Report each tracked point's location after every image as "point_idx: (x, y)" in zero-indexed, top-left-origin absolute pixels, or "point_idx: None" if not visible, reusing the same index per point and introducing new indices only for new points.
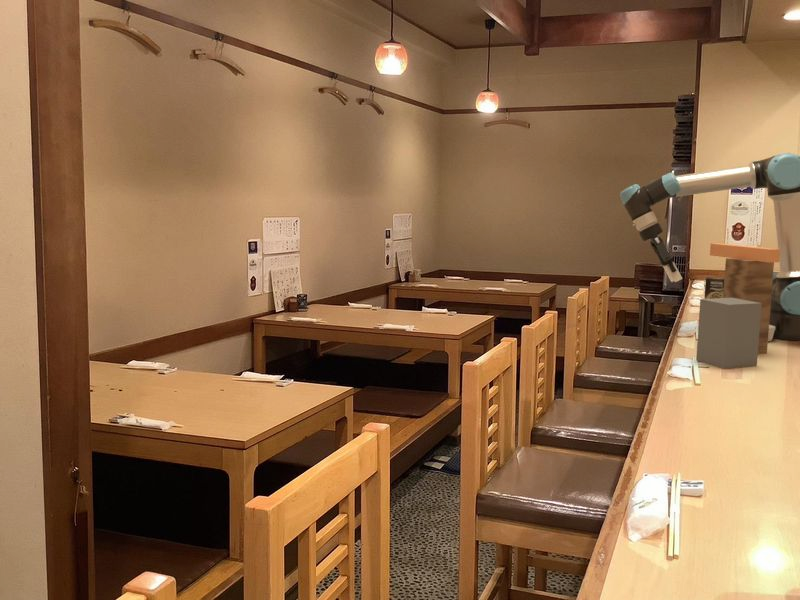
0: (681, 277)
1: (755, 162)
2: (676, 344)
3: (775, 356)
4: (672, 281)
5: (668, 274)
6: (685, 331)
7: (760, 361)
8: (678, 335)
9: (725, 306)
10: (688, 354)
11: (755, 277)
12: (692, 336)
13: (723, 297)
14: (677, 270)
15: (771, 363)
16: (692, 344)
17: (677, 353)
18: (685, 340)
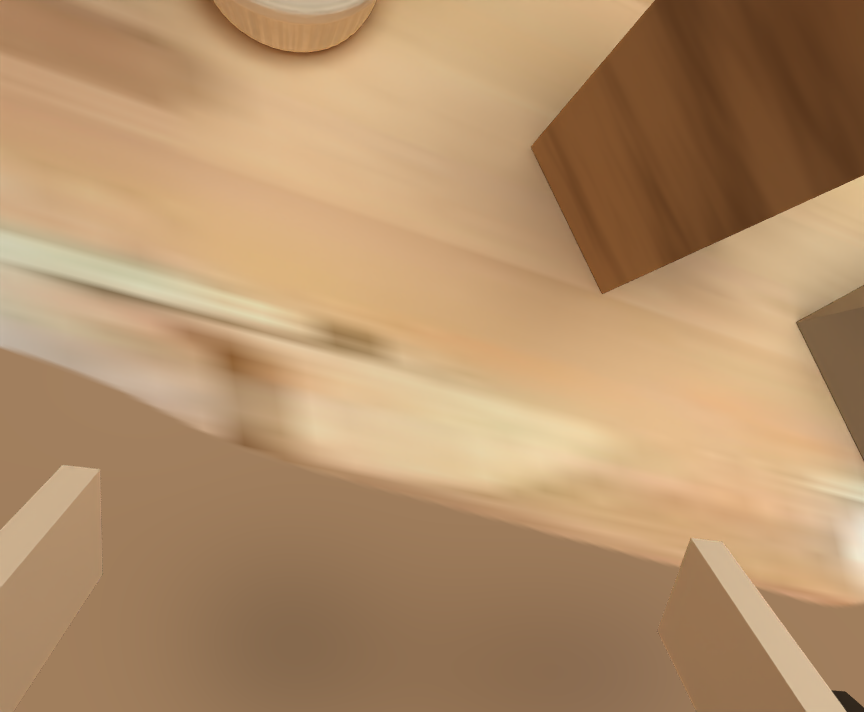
0: (731, 563)
1: None
2: (522, 507)
3: None
4: (100, 563)
5: (27, 673)
6: (23, 338)
7: (832, 200)
8: (206, 428)
9: None
10: (766, 496)
11: None
12: (231, 340)
13: (838, 186)
14: (804, 667)
15: None
16: (504, 410)
17: (756, 550)
18: (384, 422)
